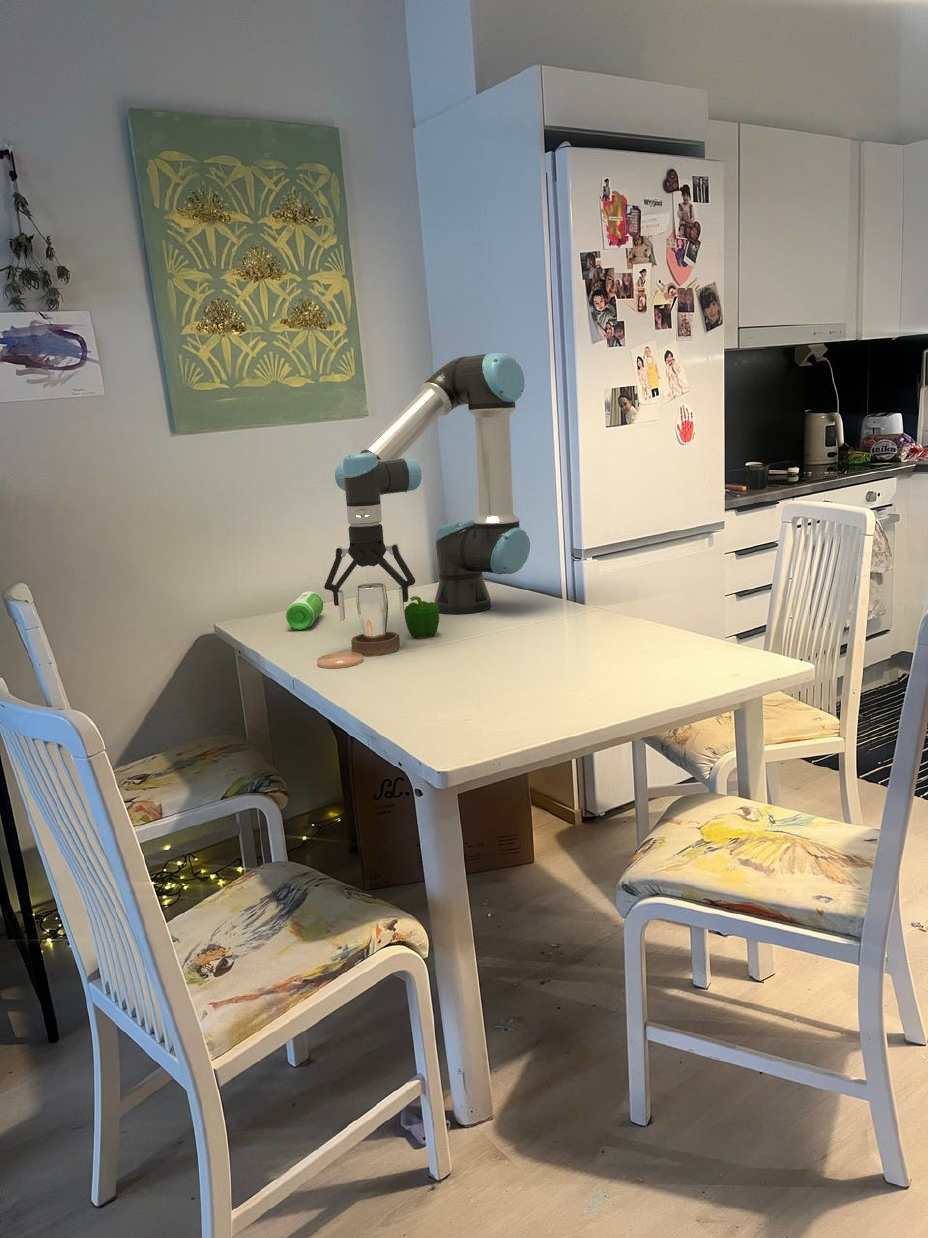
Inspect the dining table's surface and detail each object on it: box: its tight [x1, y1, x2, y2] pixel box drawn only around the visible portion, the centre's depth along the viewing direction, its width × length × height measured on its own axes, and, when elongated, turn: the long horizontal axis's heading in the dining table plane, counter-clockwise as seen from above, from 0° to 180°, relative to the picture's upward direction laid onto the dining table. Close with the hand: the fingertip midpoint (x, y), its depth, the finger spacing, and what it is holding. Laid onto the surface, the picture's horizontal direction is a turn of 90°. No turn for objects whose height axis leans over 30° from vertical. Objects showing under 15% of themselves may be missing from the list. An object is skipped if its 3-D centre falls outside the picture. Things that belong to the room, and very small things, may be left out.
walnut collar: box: [350, 631, 401, 657], centre depth 217 cm, size 11×11×3 cm
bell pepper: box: [404, 595, 440, 639], centre depth 227 cm, size 8×8×10 cm
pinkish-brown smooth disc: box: [316, 651, 364, 670], centre depth 209 cm, size 10×10×1 cm
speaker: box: [285, 590, 324, 631], centre depth 250 cm, size 18×7×8 cm, turn 179°
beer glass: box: [355, 582, 389, 642], centre depth 216 cm, size 7×7×15 cm
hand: (372, 618), depth 216 cm, fingers open, 13 cm apart
